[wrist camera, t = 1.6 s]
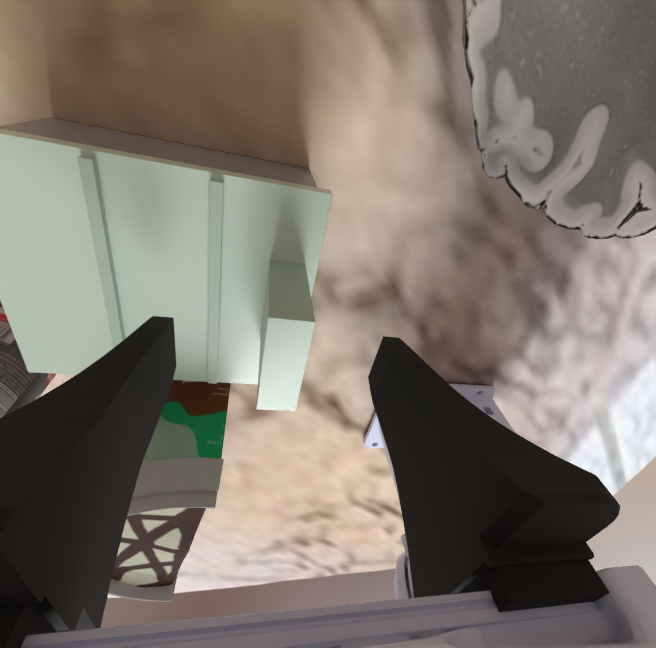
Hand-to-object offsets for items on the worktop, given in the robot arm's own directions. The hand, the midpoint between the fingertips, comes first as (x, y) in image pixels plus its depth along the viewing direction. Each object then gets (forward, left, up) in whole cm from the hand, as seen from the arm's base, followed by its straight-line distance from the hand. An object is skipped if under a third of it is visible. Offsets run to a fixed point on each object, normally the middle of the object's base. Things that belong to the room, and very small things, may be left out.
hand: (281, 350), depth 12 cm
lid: (+5, 0, -4) cm, 6 cm away
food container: (+6, +13, -9) cm, 17 cm away
